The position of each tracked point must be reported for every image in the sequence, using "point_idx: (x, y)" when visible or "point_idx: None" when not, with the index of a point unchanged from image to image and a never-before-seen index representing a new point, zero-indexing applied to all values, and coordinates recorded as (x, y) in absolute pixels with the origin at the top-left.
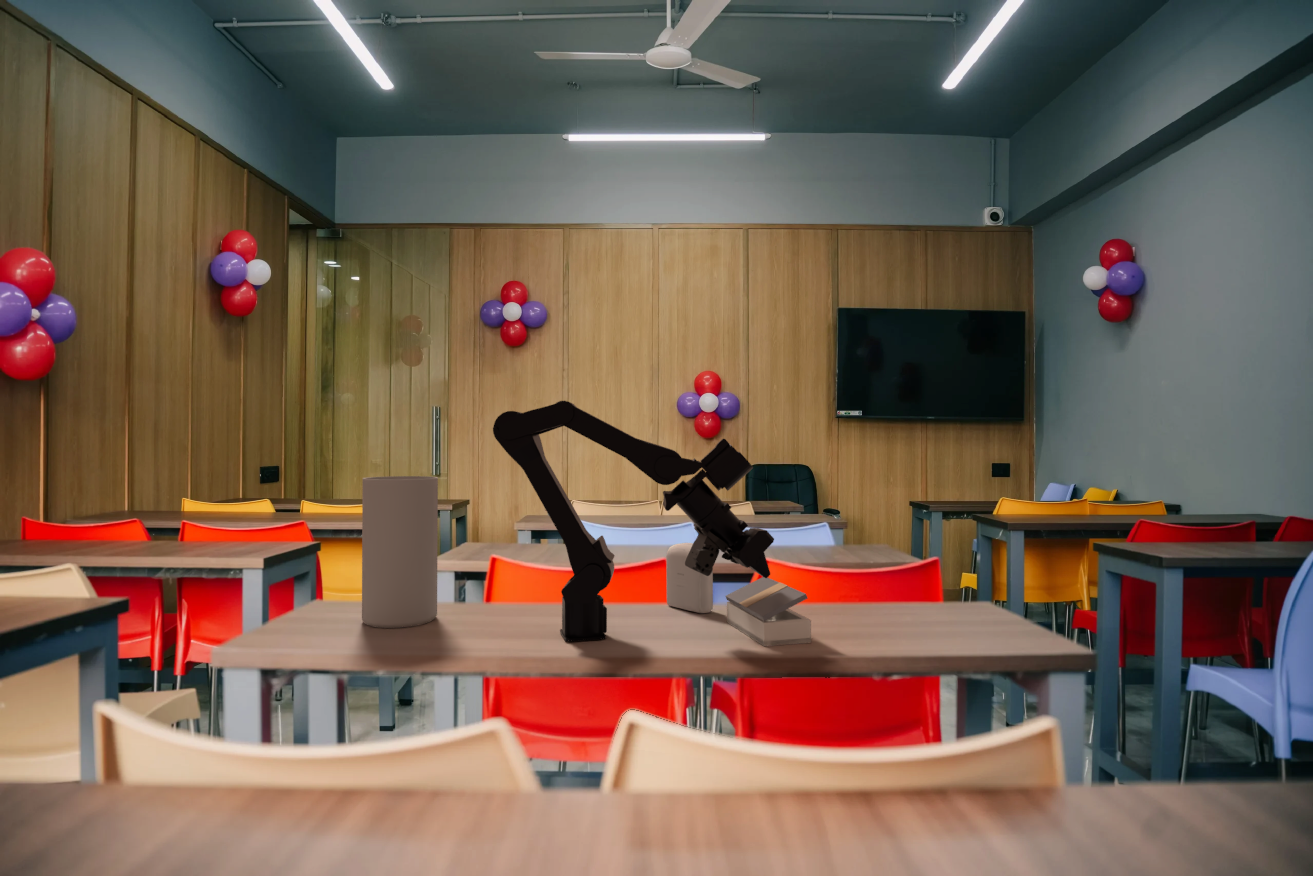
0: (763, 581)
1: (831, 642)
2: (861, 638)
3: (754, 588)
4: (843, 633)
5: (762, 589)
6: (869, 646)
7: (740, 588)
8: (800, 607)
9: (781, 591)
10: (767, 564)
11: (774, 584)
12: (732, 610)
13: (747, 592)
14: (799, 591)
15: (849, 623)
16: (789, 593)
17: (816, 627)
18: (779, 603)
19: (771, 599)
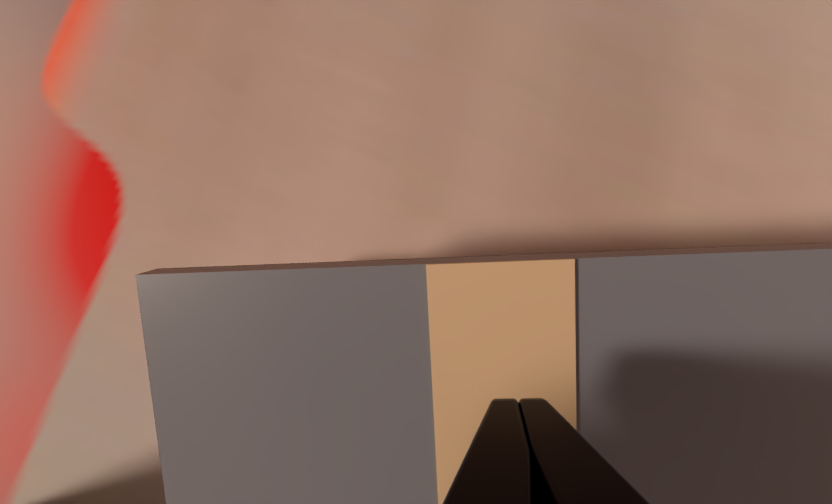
0: (235, 326)
1: (717, 189)
2: (666, 51)
3: (294, 426)
4: (575, 85)
5: (390, 402)
6: (797, 71)
7: (166, 481)
8: (119, 79)
9: (619, 337)
10: (614, 470)
11: (405, 305)
12: None
13: (306, 486)
14: (808, 253)
15: (424, 3)
16: (742, 319)
17: (456, 148)
18: (829, 449)
19: (674, 450)
